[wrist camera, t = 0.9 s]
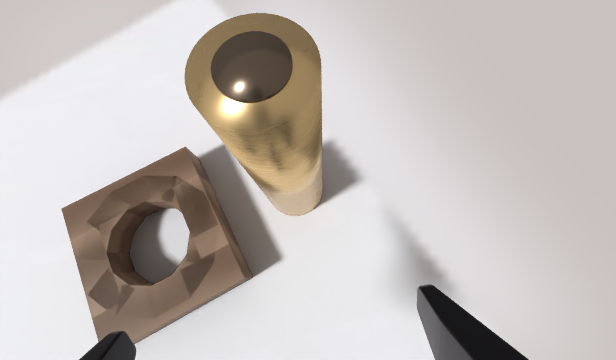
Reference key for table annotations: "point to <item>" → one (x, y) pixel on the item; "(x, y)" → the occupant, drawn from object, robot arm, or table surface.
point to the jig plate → (118, 236)
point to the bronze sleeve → (264, 103)
